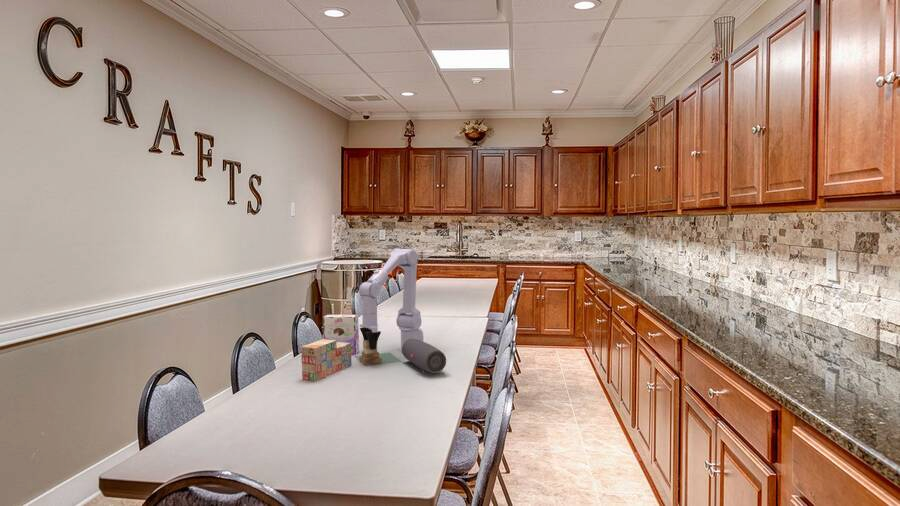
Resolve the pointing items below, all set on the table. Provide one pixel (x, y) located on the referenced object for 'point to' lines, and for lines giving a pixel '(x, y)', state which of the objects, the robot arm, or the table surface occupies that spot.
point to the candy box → (342, 330)
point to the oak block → (368, 348)
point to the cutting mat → (385, 358)
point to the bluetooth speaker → (424, 355)
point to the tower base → (370, 361)
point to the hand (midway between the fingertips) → (370, 347)
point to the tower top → (370, 355)
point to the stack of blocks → (324, 359)
